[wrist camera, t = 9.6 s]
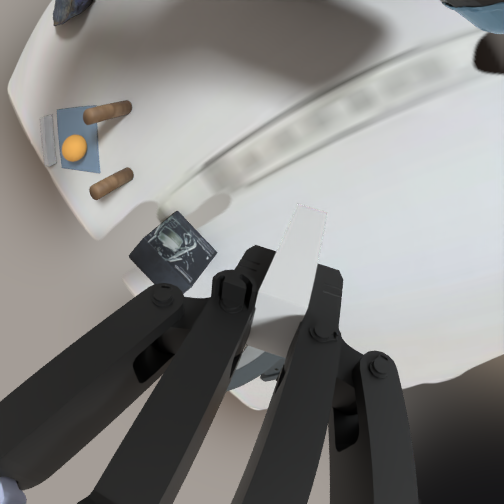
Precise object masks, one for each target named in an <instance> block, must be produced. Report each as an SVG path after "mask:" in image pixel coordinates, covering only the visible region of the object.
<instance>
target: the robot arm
mask: <svg viewBox="0 0 504 504" xmlns="http://www.w3.org/2000/svg"><path fill="white" fill-rule="evenodd" d="M440 1H441V2H442V4H444V5H445V6H446V7H448V8H450V9H452V10H455V11H456V12H458V13H459V14H460V15H462V16H463V17H464V18H466V19H467V20H468V21H470V22H471V23H472V24H473V25H475V26H476V27H478V28H479V29H481V30H483V31H487V32H492V33H495V34H504V0H440ZM326 218H327V212H324V211H321V210H317V209H314V208H311V207H308V206H304V205H301V204H297V206H296V209H295V211H294V213H293V216H292V218H291V220H290V222H289V225H288V227H287V229H286V231H285V234H284V236H283V238H282V240H281V243H280V245H279V247H278V249H277V252H276V251H273V250H270V249H267V248H264V247H260V246H257V245H255V246H253V247H251V248H249V249H248V250H246V252H245V254H244V255H243V257H242V259H241V260H240V262H239V263H238V266H237V267H236V268H235V270H224V271H222V272H219V273H217V274H216V275H215V276H214V277H213V280H212V293H211V297H209V298H190V297H184V295H183V292H182V291H181V290H180V289H179V288H178V287H177V286H175V285H172V284H168V283H159V284H154V285H152V286H150V287H148V288H147V289H146V290H144V291H143V292H141V293H140V294H139V295H137V296H136V297H135V298H133V299H132V300H130V301H129V302H128V303H126V304H125V305H124V306H122V307H121V308H120V309H118V310H117V311H115V312H114V313H113V314H111V315H110V316H109V317H107V318H106V319H105V320H103V321H102V322H101V323H99V324H98V325H97V326H95V327H94V328H93V329H92V330H90V331H89V332H87V333H86V334H85V335H83V336H82V337H81V338H79V339H78V340H77V341H76V342H74V343H73V344H72V345H70V346H69V347H68V348H66V349H65V350H64V351H63V352H62V353H60V354H59V355H57V356H56V357H55V358H54V359H52V360H51V361H50V362H49V363H47V364H46V365H45V366H43V367H42V368H41V369H40V370H38V371H37V372H36V373H35V374H33V375H32V376H31V377H30V378H28V379H27V380H26V381H25V382H24V383H22V384H21V385H20V386H19V387H17V388H16V389H15V390H14V391H13V392H11V393H10V394H9V395H8V396H7V397H5V398H4V399H3V400H2V401H1V402H0V504H26V500H27V499H26V496H25V494H24V493H23V491H22V490H25V489H29V488H32V487H34V486H36V485H38V484H40V483H42V482H43V481H45V480H46V479H47V478H49V477H50V476H51V475H52V474H54V473H55V472H56V471H57V470H58V469H60V468H61V467H62V466H63V465H64V464H65V463H66V462H68V461H69V460H70V459H71V458H72V457H73V456H74V455H76V454H77V453H78V452H79V451H80V450H81V449H82V448H83V447H84V446H86V444H88V443H89V442H90V441H91V440H92V439H93V438H94V437H96V436H97V435H98V434H99V433H100V432H101V431H102V430H103V429H104V428H106V427H107V426H108V425H109V424H110V423H111V422H112V421H113V420H114V419H115V418H117V417H118V416H119V415H120V414H121V413H122V412H123V411H124V410H125V409H126V408H127V407H128V406H129V405H131V404H132V403H133V402H134V401H135V400H136V399H137V398H138V397H139V396H140V395H141V394H142V393H143V392H144V391H146V390H147V389H148V388H149V387H150V386H151V385H152V384H153V383H154V382H155V381H156V380H157V379H158V378H159V377H160V376H161V375H162V374H163V373H164V374H163V375H162V377H161V379H160V381H159V382H158V384H157V385H156V387H155V389H154V390H153V392H152V394H151V395H150V397H149V398H148V400H147V402H146V403H145V405H144V407H143V408H142V410H141V412H140V413H139V415H138V416H137V418H136V420H135V421H134V423H133V425H132V426H131V428H130V429H129V431H128V433H127V434H126V436H125V438H124V440H123V441H122V443H121V445H120V446H119V448H118V449H117V451H116V453H115V454H114V456H113V458H112V459H111V461H110V463H109V464H108V466H107V468H106V469H105V471H104V473H103V474H102V476H101V478H100V480H99V481H98V483H97V485H96V486H95V488H94V490H93V491H92V492H91V494H90V495H89V496H88V497H86V498H85V499H83V500H81V501H80V502H78V503H77V504H173V502H174V500H175V498H176V496H177V494H178V492H179V490H180V488H181V485H182V484H183V482H184V480H185V478H186V476H187V474H188V472H189V470H190V467H191V466H192V464H193V461H194V459H195V457H196V455H197V453H198V451H199V449H200V447H201V445H202V443H203V440H204V438H205V436H206V434H207V432H208V430H209V427H210V426H211V423H212V421H213V419H214V417H215V415H216V412H217V410H218V408H219V406H220V404H221V402H222V399H223V397H224V395H225V393H226V391H227V388H228V386H229V384H230V382H231V379H232V377H233V375H234V372H235V370H236V368H237V366H238V363H239V361H240V359H241V356H242V351H243V348H244V346H245V344H246V345H248V346H251V347H254V348H256V349H259V350H262V351H265V352H268V353H271V354H274V355H277V356H281V357H284V358H286V359H285V362H284V365H283V367H282V369H281V371H280V373H279V375H278V377H277V379H276V381H277V383H276V386H275V389H274V392H273V395H272V398H271V401H270V404H269V407H268V410H267V413H266V416H265V419H264V422H263V424H262V427H261V430H260V432H259V435H258V438H257V440H256V443H255V446H254V448H253V451H252V454H251V456H250V459H249V461H248V464H247V467H246V469H245V471H244V474H243V477H242V479H241V481H240V484H239V486H238V489H237V491H236V493H235V496H234V498H233V500H232V503H231V504H307V502H308V499H309V495H310V492H311V489H312V485H313V482H314V478H315V475H316V471H317V467H318V464H319V460H320V456H321V452H322V447H323V443H324V439H325V435H326V430H327V425H328V427H329V453H330V504H418V491H417V480H416V470H415V462H414V454H413V447H412V440H411V434H410V428H409V423H408V417H407V412H406V407H405V402H404V397H403V393H402V388H401V384H400V379H399V375H398V371H397V368H396V365H395V363H394V361H393V360H392V359H391V358H390V357H389V356H388V355H386V354H385V353H383V352H379V351H369V352H367V353H366V354H364V355H363V354H361V353H359V352H358V351H356V350H354V349H353V348H351V347H350V346H349V345H347V344H346V343H345V341H344V340H343V339H342V337H341V333H340V331H339V317H340V308H341V299H342V298H341V297H342V288H343V278H342V276H341V274H340V271H339V270H336V269H333V268H330V267H327V266H324V265H320V264H318V260H319V255H320V250H321V245H322V240H323V234H324V229H325V224H326Z"/></svg>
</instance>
